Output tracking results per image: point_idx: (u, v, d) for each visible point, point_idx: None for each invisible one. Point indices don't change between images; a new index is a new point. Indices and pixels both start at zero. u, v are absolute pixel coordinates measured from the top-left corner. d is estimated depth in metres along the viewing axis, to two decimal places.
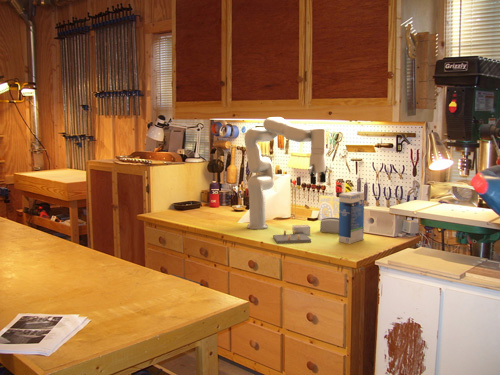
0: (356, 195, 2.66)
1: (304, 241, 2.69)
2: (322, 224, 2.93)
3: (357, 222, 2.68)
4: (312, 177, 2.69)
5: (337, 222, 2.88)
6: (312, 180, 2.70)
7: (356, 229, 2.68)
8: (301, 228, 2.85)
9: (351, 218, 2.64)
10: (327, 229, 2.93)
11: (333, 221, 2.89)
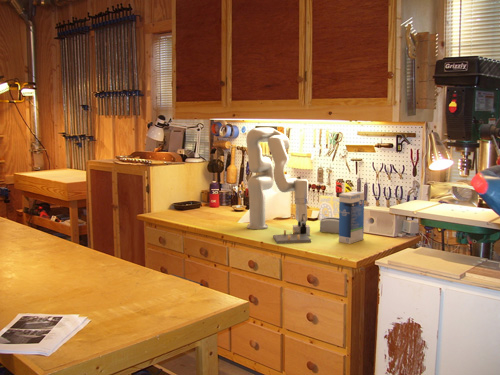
0: (356, 195, 2.66)
1: (304, 241, 2.69)
2: (322, 224, 2.93)
3: (357, 222, 2.68)
4: (304, 227, 2.82)
5: (336, 222, 2.88)
6: (304, 230, 2.82)
7: (356, 229, 2.68)
8: (300, 228, 2.85)
9: (351, 218, 2.64)
10: (327, 229, 2.94)
11: (332, 221, 2.89)
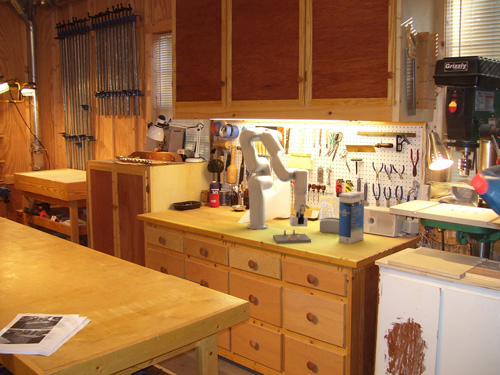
0: (356, 195, 2.66)
1: (304, 241, 2.69)
2: (321, 224, 2.93)
3: (357, 222, 2.68)
4: (301, 218, 2.84)
5: (336, 222, 2.88)
6: (301, 221, 2.84)
7: (356, 229, 2.68)
8: None
9: (351, 218, 2.64)
10: (326, 229, 2.94)
11: (332, 221, 2.89)
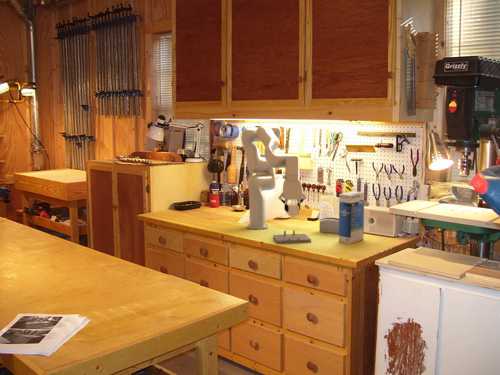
0: (356, 195, 2.66)
1: (304, 241, 2.69)
2: (321, 224, 2.93)
3: (357, 222, 2.68)
4: None
5: (336, 222, 2.88)
6: None
7: (356, 229, 2.68)
8: None
9: (351, 218, 2.64)
10: (326, 229, 2.94)
11: (332, 221, 2.89)
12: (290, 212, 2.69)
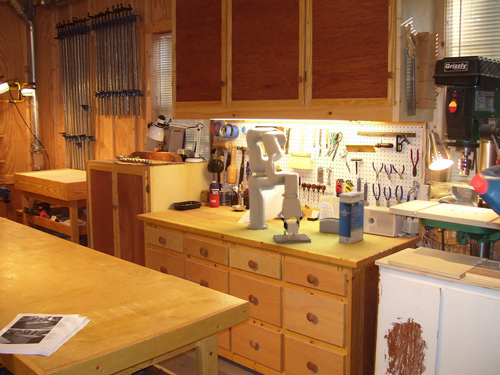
0: (356, 195, 2.66)
1: (304, 241, 2.69)
2: (321, 224, 2.93)
3: (357, 222, 2.68)
4: None
5: (335, 222, 2.88)
6: None
7: (356, 229, 2.68)
8: None
9: (351, 218, 2.64)
10: (326, 229, 2.94)
11: (332, 221, 2.89)
12: (289, 230, 2.70)
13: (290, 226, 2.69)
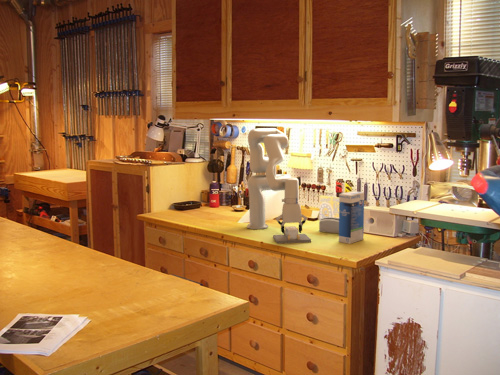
0: (356, 195, 2.66)
1: (304, 241, 2.69)
2: (321, 224, 2.94)
3: (357, 222, 2.68)
4: None
5: (335, 222, 2.88)
6: None
7: (356, 229, 2.68)
8: None
9: (351, 218, 2.64)
10: (326, 229, 2.94)
11: (331, 221, 2.89)
12: None
13: (290, 232, 2.70)
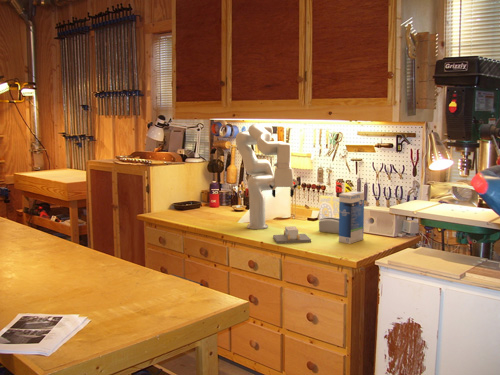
0: (356, 195, 2.66)
1: (304, 241, 2.69)
2: (320, 224, 2.94)
3: (357, 222, 2.68)
4: None
5: (335, 222, 2.88)
6: None
7: (356, 229, 2.68)
8: None
9: (351, 218, 2.64)
10: (325, 229, 2.94)
11: (331, 221, 2.89)
12: None
13: (290, 232, 2.70)
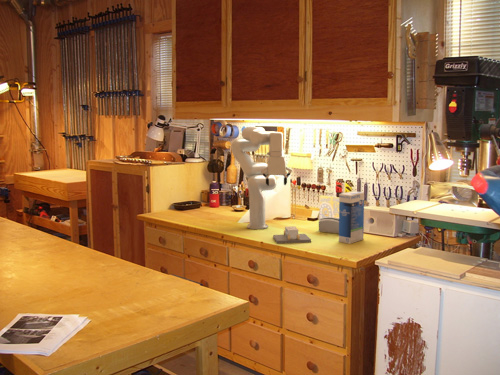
0: (356, 195, 2.66)
1: (304, 241, 2.69)
2: (320, 224, 2.94)
3: (357, 222, 2.68)
4: None
5: (334, 222, 2.88)
6: (286, 181, 2.85)
7: (356, 229, 2.68)
8: None
9: (351, 218, 2.64)
10: (325, 229, 2.94)
11: (330, 221, 2.89)
12: None
13: (290, 232, 2.70)
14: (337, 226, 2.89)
